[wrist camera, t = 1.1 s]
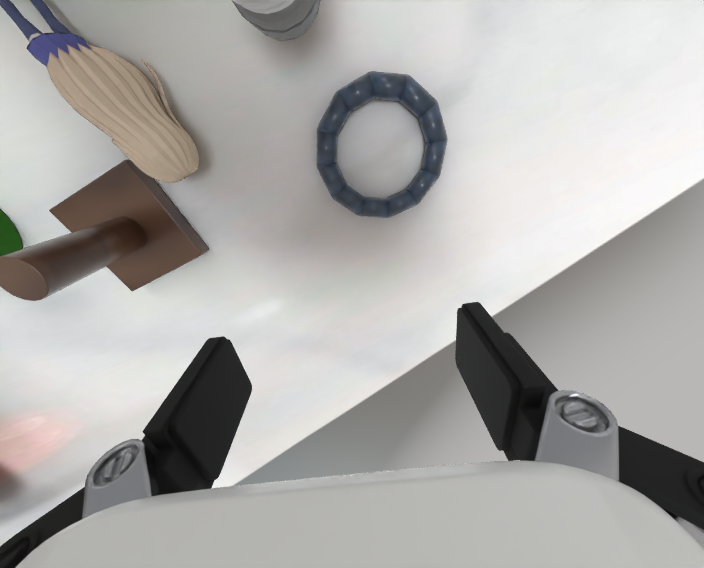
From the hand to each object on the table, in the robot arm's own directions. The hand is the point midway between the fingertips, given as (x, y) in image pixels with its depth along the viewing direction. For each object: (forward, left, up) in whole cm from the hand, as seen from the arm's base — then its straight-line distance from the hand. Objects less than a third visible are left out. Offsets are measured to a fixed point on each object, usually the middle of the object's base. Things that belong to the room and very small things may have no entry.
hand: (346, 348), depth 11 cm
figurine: (-17, -10, -17) cm, 26 cm away
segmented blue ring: (-5, +5, -16) cm, 17 cm away
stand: (-9, -18, -16) cm, 26 cm away
